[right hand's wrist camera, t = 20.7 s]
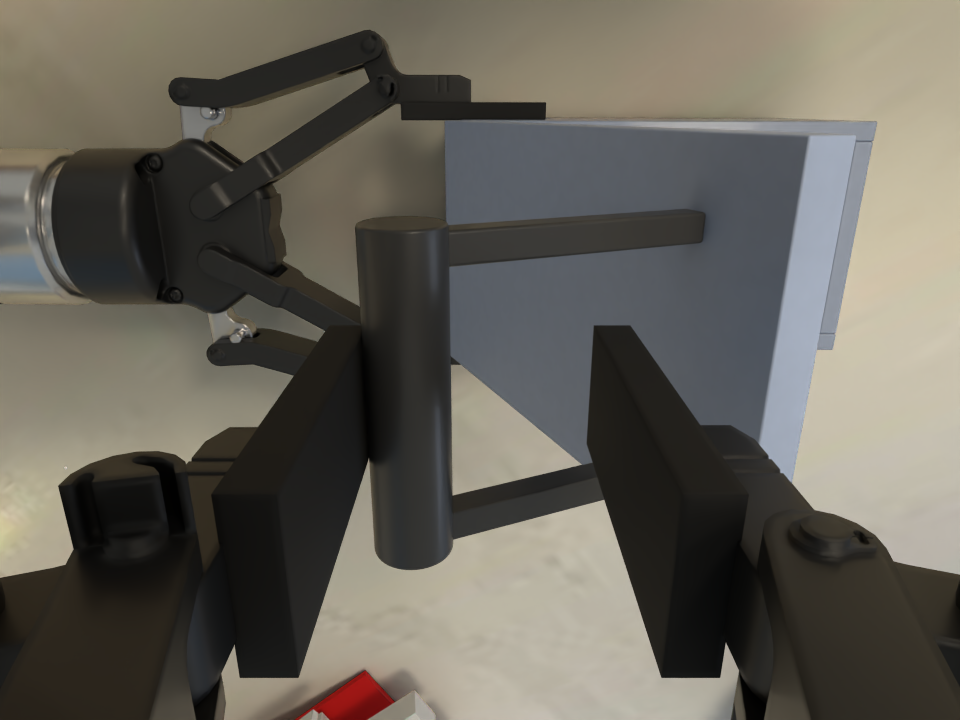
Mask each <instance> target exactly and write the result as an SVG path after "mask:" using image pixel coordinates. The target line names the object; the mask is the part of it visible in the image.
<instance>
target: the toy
mask: <svg viewBox="0 0 960 720" xmlns="http://www.w3.org/2000/svg"><path fill="white" fill-rule="evenodd" d="M295 720H436V717H435V713H434V712H433V710H432V709H431V708H430V707H429V706H428V705H427V704H426V702H425V701H424V700H423V699H422V698H421V697H420V696H419V694H418V693H417V692H416V691H415V690H413V691H412V692H410V693H409V694H407V695H406V696H404V697H402V698H401V699H399V700H398V701H396V702H394V701H393V700H392V698H391V697H390V696H389V695H388V694H387V693H386V692H385V691H384V690H383V689H382V688H381V687H380V686H379V685H378V684H377V683H376V681H375V680H374V679H373V678H372V677H371V676H370V675H369V674H368V673H367V672H366V671H364V672H362V673H361V674H360V675H358V676H357V677H355V678H354V679H352V680H351V681H350V682H348V683H347V684H345V685H344V686H342V687H341V688H339V689H338V690H337V691H335V692H334V693H332V694H331V695H329V696H328V697H327V698H325V699H324V700H322V701H321V702H319V703H318V704H316V705H315V706H314V707H312V708H311V709H309V710H308V711H306V712H305V713H304V714H302V715H301V716H299V717H298V718H296V719H295Z"/></svg>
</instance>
